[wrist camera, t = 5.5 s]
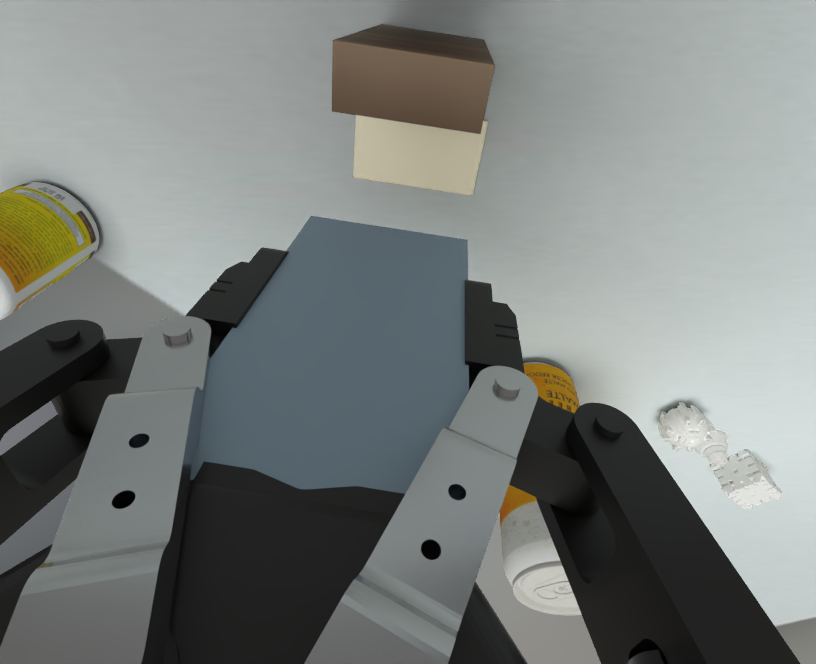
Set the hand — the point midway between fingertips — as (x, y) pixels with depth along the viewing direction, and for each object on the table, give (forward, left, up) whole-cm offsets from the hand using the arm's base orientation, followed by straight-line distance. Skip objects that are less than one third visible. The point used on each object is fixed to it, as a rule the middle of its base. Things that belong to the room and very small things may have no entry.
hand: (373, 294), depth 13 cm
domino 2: (-5, 0, -15) cm, 16 cm away
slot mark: (0, 0, -15) cm, 15 cm away
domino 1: (0, 0, -2) cm, 2 cm away
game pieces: (+19, +26, -16) cm, 36 cm away
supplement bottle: (+8, -23, -15) cm, 29 cm away
